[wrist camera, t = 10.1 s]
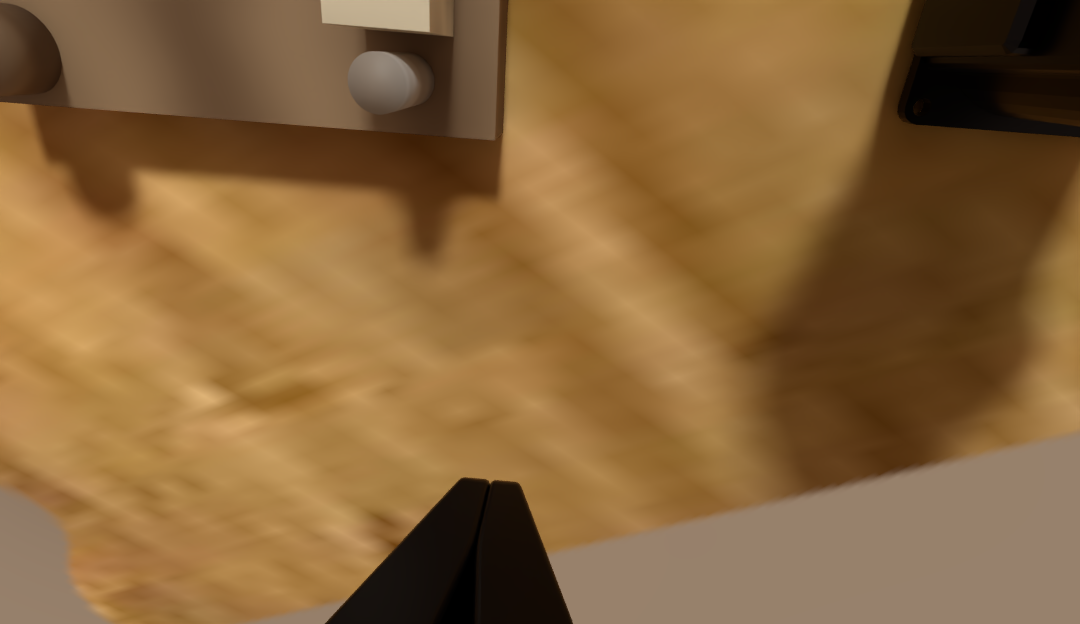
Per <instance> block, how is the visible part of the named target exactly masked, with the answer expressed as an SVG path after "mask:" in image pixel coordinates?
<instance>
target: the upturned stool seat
mask: <svg viewBox="0 0 1080 624" xmlns="http://www.w3.org/2000/svg"><path fill="white" fill-rule="evenodd" d="M507 10H508V0H454V25H453V37H450V36H438V35H426V34H415V33H403V32H391V31H380V30H368V29H359V28H353V27H346V26H339V25H333V24H326V23H322V12H321V0H0V102H9V103H22V104H35V105H47V106H60V107H73V108H86V109H99V110H111V111H124V112H137V113H150V114H163V115H175V116H188V117H201V118H214V119H227V120H239V121H252V122H265V123H278V124H291V125H303V126H316V127H329V128H342V129H354V130H367V131H380V132H393V133H406V134H418V135H431V136H444V137H457V138H470V139H482V140H496V139H497V138H498V137H499V136H500V135H501V134H502V133H503V114H504V88H505V62H506V36H507Z"/></svg>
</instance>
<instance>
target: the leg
mask: <svg viewBox="0 0 1080 624" xmlns="http://www.w3.org/2000/svg"><path fill="white" fill-rule="evenodd" d="M321 12H322V23H326V24H333V25H339V26H346V27H353V28H359V29H368V30H380V31H391V32H403V33H415V34H426V35H438V36H450V37H453V25H454V0H321Z"/></svg>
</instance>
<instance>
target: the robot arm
mask: <svg viewBox="0 0 1080 624" xmlns="http://www.w3.org/2000/svg"><path fill="white" fill-rule="evenodd" d="M912 49H913V51H914V53H915V54H914V57H913V60H912V63H911V67H910V70H909V73H908V76H907V79H906V82H905V86H904V89H903V92H902V95H901V98H900V101H899V105H898V115H899V118H900V119H901V120H902V121H903V122H907V123H910V124H916V125H928V126H941V127H954V128H968V129H981V130H994V131H1007V132H1020V133H1033V134H1046V135H1059V136H1072V137H1080V0H926V2H925V5H924V8H923V11H922V14H921V18H920V21H919V24H918V27H917V30H916V34H915V37H914V40H913V43H912ZM920 99H922V101H923V102H924V103H923V108H922V110H921V111H920V112H919V113H918V114H914V112H913V106H914V105H915V103H916V102H917V101H918V100H920ZM325 624H573V623H572V619H571V617H570V614H569V611H568V609H567V606H566V603H565V601H564V599H563V596H562V593H561V590H560V588H559V585H558V582H557V580H556V577H555V574H554V572H553V569H552V567H551V564H550V561H549V559H548V556H547V553H546V551H545V548H544V545H543V543H542V540H541V538H540V535H539V532H538V530H537V527H536V524H535V522H534V519H533V516H532V514H531V511H530V509H529V506H528V503H527V501H526V498H525V495H524V493H523V490H522V488H521V486H520V484H519V483H517V482H510V481H499V480H494V481H492V482H491V484H490V483H489V481H488V480H486V479H477V478H466V477H465V478H461V479H460V480H458V482H457V483H456V484H455V485H454V486H453V487H452V488H451V489H450V490H449V491H448V492H447V493H446V494H445V495H444V497H443V498H442V499H441V500H440V501H439V502H438V503H437V504H436V505H435V506H434V507H433V508H432V509H431V510H430V512H429V513H428V514H427V515H426V516H425V517H424V518H423V519H422V520H421V521H420V522H419V523H418V524H417V525H416V527H415V528H414V529H413V530H412V531H411V532H410V533H409V534H408V535H407V536H406V537H405V538H404V539H403V541H402V542H401V543H400V544H399V545H398V546H397V547H396V548H395V549H394V550H393V551H392V552H391V553H390V554H389V556H388V557H387V558H386V559H385V560H384V561H383V562H382V563H381V564H380V565H379V566H378V567H377V568H376V569H375V571H374V572H373V573H372V574H371V575H370V576H369V577H368V578H367V579H366V580H365V581H364V582H363V583H362V584H361V586H360V587H359V588H358V589H357V590H356V591H355V592H354V593H353V594H352V595H351V596H350V597H349V598H348V599H347V601H346V602H345V603H344V604H343V605H342V606H341V607H340V608H339V609H338V610H337V611H336V612H335V613H334V614H333V616H332V617H331V618H330V619H329V620H328V621H327V622H326V623H325Z"/></svg>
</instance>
